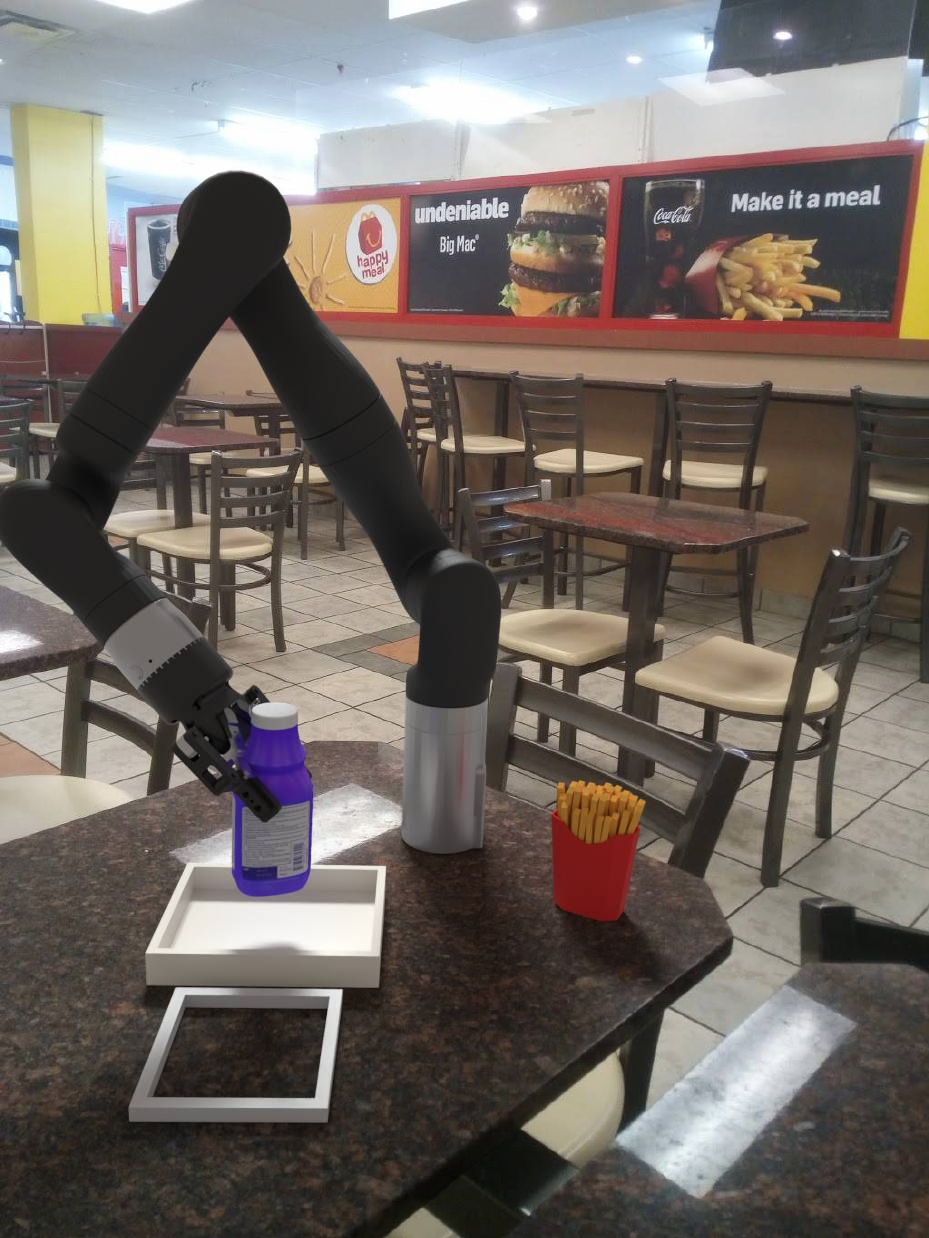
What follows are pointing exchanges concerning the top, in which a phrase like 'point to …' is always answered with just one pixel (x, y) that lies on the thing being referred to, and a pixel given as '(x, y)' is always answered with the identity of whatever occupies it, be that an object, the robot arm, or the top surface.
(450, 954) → the top surface
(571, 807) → the french fries
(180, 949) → the tray
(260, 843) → the bottle
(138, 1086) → the frame
